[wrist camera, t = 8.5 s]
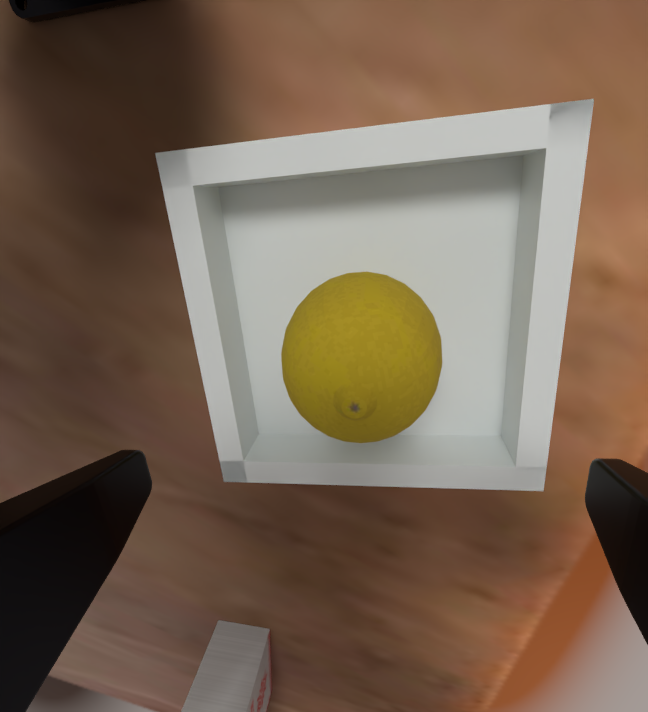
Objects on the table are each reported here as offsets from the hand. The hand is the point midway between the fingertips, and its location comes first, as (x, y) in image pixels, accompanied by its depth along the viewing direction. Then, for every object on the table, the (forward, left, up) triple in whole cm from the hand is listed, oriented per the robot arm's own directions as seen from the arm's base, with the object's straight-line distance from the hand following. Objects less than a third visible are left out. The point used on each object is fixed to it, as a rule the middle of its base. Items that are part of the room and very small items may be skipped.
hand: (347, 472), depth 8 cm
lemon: (0, 0, -11) cm, 11 cm away
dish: (0, 0, -11) cm, 11 cm away
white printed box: (-10, -25, -12) cm, 29 cm away
